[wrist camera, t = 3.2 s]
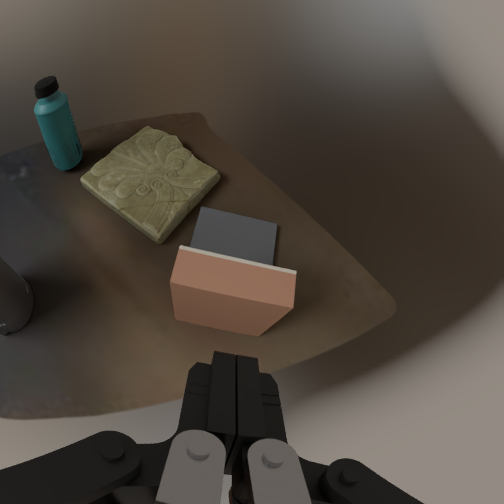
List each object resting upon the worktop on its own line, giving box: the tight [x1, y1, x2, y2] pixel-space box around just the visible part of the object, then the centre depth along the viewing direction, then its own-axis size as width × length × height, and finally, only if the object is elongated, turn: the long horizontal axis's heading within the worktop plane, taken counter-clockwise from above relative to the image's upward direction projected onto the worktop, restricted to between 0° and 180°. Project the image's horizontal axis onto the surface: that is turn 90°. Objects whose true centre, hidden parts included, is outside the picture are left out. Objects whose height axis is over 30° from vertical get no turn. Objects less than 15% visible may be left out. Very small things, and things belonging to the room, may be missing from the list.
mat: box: [190, 206, 277, 266], centre depth 46 cm, size 14×13×1 cm
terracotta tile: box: [170, 245, 296, 337], centre depth 35 cm, size 4×12×15 cm, turn 82°
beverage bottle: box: [34, 76, 82, 170], centre depth 39 cm, size 6×7×20 cm
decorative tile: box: [80, 126, 220, 245], centre depth 49 cm, size 19×20×4 cm
